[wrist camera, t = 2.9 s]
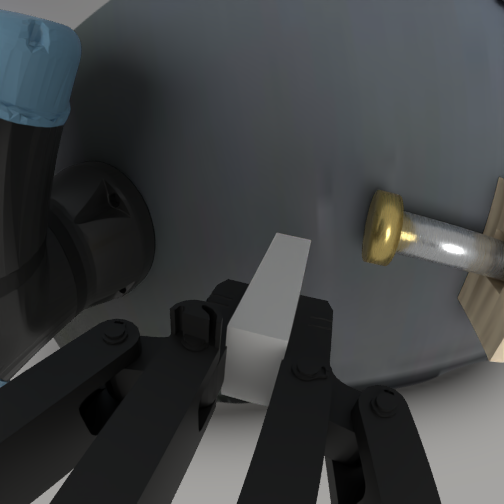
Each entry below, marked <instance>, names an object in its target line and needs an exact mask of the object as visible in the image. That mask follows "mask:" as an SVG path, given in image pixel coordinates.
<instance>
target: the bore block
mask: <svg viewBox="0 0 504 504" xmlns="http://www.w3.org/2000/svg"><path fill="white" fill-rule="evenodd" d="M483 234H484V235H487V236H490V237H493V238H496V239H499V240H502V241H504V179H503V178H501V177H499V179H498V183H497V187H496V191H495V195H494V199H493V202H492V206H491V209H490V213H489V216H488V219H487V223H486V226H485V229H484V232H483ZM458 300H459V302H460V304H461V305H462V307H463V309H464V311H465V313H466V315H467V317H468V318H469V320H470V322H471V324H472V326H473V328H474V330H475V332H476V334H477V336H478V338H479V340H480V342H481V344H482V346H483V348H484V350H485V353H486V355H487V357H488V359H489V361H492V362H504V281H503V280H499V279H495V278H491V277H488V276H484V275H480V274H476V273H472V272H469V273H468V275H467V277H466V280H465V282H464V284H463V287H462V289H461V291H460V294H459V296H458Z"/></svg>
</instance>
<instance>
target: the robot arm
mask: <svg viewBox="0 0 504 504" xmlns="http://www.w3.org/2000/svg"><path fill="white" fill-rule="evenodd" d="M81 51H82V50H81V43H80V40H79V37H78V36H77V34H76V33H75V32H74V31H73V30H72V29H71V28H69V27H68V26H65V25H63V24H59V23H56V22H53V21H49V20H45V19H41V18H37V17H33V16H29V15H25V14H20V13H16V12H11V11H6V10H1V9H0V504H30V503H31V502H33V501H34V500H35V499H36V498H38V497H39V496H40V495H42V494H43V493H44V492H45V491H47V490H48V489H49V488H50V487H52V486H53V485H54V484H55V483H56V482H58V481H59V480H60V479H61V478H63V477H64V476H65V475H66V474H68V473H69V472H70V471H71V470H72V469H73V471H72V472H71V473H70V475H69V476H68V478H67V479H66V481H65V482H64V483H63V485H62V486H61V488H60V489H59V491H58V492H57V494H56V495H55V496H54V498H53V499H52V501H51V502H50V504H171V502H172V500H173V498H174V496H175V494H176V491H177V490H178V488H179V485H180V483H181V481H182V479H183V477H184V475H185V473H186V471H187V468H188V466H189V464H190V462H191V460H192V458H193V456H194V454H195V451H196V449H197V447H198V445H199V443H200V441H201V439H202V436H203V434H204V432H205V430H206V428H207V425H208V423H209V421H210V419H211V417H212V415H213V412H214V410H215V407H216V401H217V395H218V393H219V391H220V389H221V386H222V391H221V394H223V395H227V396H230V397H234V398H237V399H241V400H244V401H248V402H252V403H256V404H260V405H264V406H268V409H267V413H266V416H265V419H264V423H263V426H262V429H261V433H260V436H259V439H258V442H257V445H256V448H255V451H254V454H253V457H252V460H251V463H250V467H249V470H248V472H247V475H246V478H245V481H244V484H243V487H242V490H241V493H240V496H239V499H238V502H237V504H316V501H317V496H318V490H319V484H320V478H321V472H322V466H323V459H324V456H325V461H326V468H327V476H328V483H329V491H330V499H331V504H441V501H440V497H439V494H438V491H437V487H436V484H435V481H434V478H433V475H432V472H431V468H430V465H429V462H428V459H427V457H426V453H425V450H424V448H423V445H422V442H421V439H420V437H419V434H418V431H417V428H416V425H415V423H414V420H413V417H412V415H411V412H410V410H409V407H408V404H407V402H406V401H405V399H404V398H403V396H402V395H401V394H400V393H398V392H397V391H396V390H394V389H392V388H390V387H387V386H381V385H375V386H371V387H368V388H366V389H365V390H364V391H362V392H360V391H358V390H356V389H354V388H351V387H349V386H347V385H346V384H344V383H342V382H341V381H340V380H339V379H337V378H336V376H335V375H334V374H333V372H332V368H331V367H330V351H331V337H332V321H333V310H332V308H331V306H330V304H329V303H328V301H325V300H320V299H316V298H311V297H307V296H302V295H300V290H301V286H302V281H303V277H304V272H305V268H306V263H307V258H308V254H309V249H310V244H311V240H309V239H304V238H299V237H295V236H290V235H285V234H280V233H276V235H275V237H274V239H273V241H272V243H271V245H270V246H269V248H268V250H267V252H266V254H265V256H264V258H263V260H262V262H261V264H260V265H259V267H258V269H257V271H256V273H255V275H254V277H253V279H252V281H251V282H250V284H246V283H242V282H238V281H234V280H229V279H228V280H226V281H224V282H222V283H220V284H218V285H217V286H216V288H215V289H214V291H213V292H212V294H211V295H210V296H209V298H208V299H207V302H205V301H199V300H188V301H183V302H180V303H177V304H175V305H174V306H173V307H171V308H170V319H171V335H170V336H169V337H148V336H140V333H139V330H138V328H137V327H136V326H135V325H134V324H133V323H132V322H129V321H127V320H123V319H112V320H107V321H105V322H102V323H100V324H98V325H97V326H95V327H94V328H92V329H90V330H89V331H87V332H86V333H84V334H83V335H81V336H79V337H78V338H76V339H75V340H73V341H71V342H70V343H68V344H67V345H65V346H64V347H62V348H60V349H59V350H57V351H56V352H54V353H53V354H51V355H50V356H48V357H46V358H45V359H44V360H42V361H41V362H39V363H37V364H36V365H34V366H33V367H31V368H30V369H28V370H26V371H25V372H23V373H22V374H20V375H19V376H17V377H16V378H14V379H13V380H11V381H10V379H11V378H12V377H13V376H14V375H15V374H16V373H17V372H18V371H19V370H20V369H21V368H22V367H23V366H24V365H25V364H26V363H27V362H28V361H29V360H30V359H31V358H32V357H33V356H34V355H35V354H36V353H37V352H38V351H39V350H40V349H41V348H42V347H43V346H44V345H45V344H47V343H48V342H49V341H50V340H51V339H52V338H53V337H54V336H55V335H56V334H57V333H58V332H59V331H60V330H62V329H63V328H64V327H65V326H66V325H67V324H68V323H69V322H70V321H71V320H72V319H73V318H74V317H76V316H77V315H78V314H79V313H80V312H81V311H83V310H84V309H86V308H89V307H92V306H95V305H98V304H101V303H104V302H107V301H110V300H112V299H116V298H119V297H122V296H124V295H125V294H127V293H129V292H130V291H131V290H132V289H133V288H135V287H136V286H137V285H138V284H139V283H140V282H141V281H142V280H143V279H144V278H145V277H146V275H147V274H148V272H149V270H150V267H151V265H152V262H153V257H154V249H155V239H154V230H153V225H152V221H151V218H150V214H149V212H148V209H147V207H146V204H145V202H144V200H143V198H142V197H141V195H140V193H139V192H138V190H137V189H136V187H135V186H134V185H133V184H132V182H131V181H130V180H129V179H128V178H127V177H126V176H125V175H124V174H123V173H121V172H120V171H119V170H117V169H116V168H114V167H112V166H110V165H108V164H105V163H102V162H97V161H88V162H83V163H80V164H76V165H73V166H70V167H68V168H66V169H64V170H62V171H61V172H59V173H58V174H57V175H56V176H54V170H55V164H56V158H57V153H58V148H59V143H60V139H61V134H62V130H63V126H64V124H65V122H66V120H67V118H68V116H69V114H70V109H71V107H70V103H69V100H70V96H71V92H72V88H73V84H74V80H75V77H76V73H77V70H78V66H79V63H80V59H81ZM53 176H54V177H53Z"/></svg>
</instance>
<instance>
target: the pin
mask: <svg viewBox="0 0 504 504" xmlns="http://www.w3.org/2000/svg"><path fill="white" fill-rule="evenodd" d="M394 254H399V255H404V256H408V257H412V258H416V259H420V260H424V261H429V262H433V263H437V264H441V265H445V266H449V267H453V268H457V269H461V270H465V271H468V272H472V273H476V274H480V275H484V276H488V277H491V278H495V279H499V280H503V281H504V241H502V240H499V239H496V238H493V237H490V236H487V235H484V234H481V233H478V232H475V231H472V230H468V229H465V228H462V227H459V226H455V225H452V224H449V223H445V222H442V221H438V220H435V219H431V218H428V217H424V216H420V215H417V214H413V213H409V212H405V211H404V206H403V200H402V197H401V196H400V195H397V194H394V193H390V192H386V191H382V190H377V191H376V192H375V194H374V196H373V199H372V201H371V204H370V208H369V211H368V215H367V219H366V224H365V229H364V236H363V244H362V258H363V261H364V262H369V263H373V264H378V265H382V266H387V265H388V264H389V263H390V262H391V260H392V258H393V257H394Z"/></svg>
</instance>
